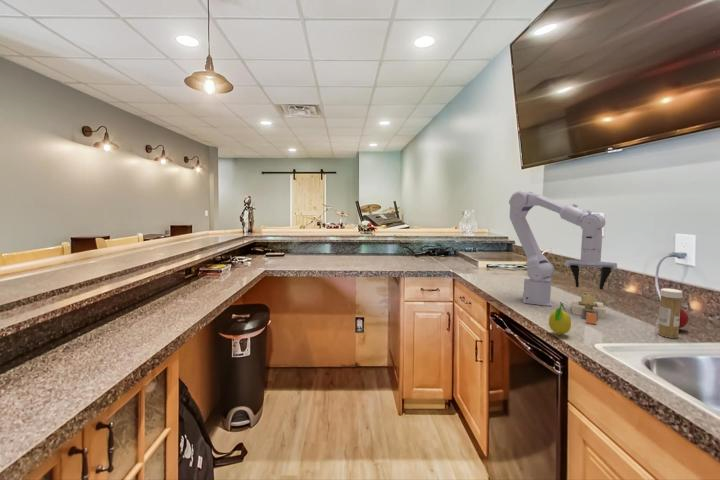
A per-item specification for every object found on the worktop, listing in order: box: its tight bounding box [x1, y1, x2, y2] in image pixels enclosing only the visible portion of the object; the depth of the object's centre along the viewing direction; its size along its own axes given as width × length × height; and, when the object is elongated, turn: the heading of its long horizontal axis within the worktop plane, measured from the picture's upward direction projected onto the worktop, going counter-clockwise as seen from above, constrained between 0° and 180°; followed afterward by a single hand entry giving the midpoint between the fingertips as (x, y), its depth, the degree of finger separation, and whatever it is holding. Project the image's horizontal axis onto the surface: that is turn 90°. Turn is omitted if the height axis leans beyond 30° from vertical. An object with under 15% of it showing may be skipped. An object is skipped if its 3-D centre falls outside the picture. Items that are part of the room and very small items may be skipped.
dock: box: [571, 299, 606, 319], centre depth 116 cm, size 9×9×3 cm
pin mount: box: [581, 309, 599, 321], centre depth 110 cm, size 4×2×3 cm, turn 60°
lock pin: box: [585, 312, 598, 325], centre depth 108 cm, size 3×7×3 cm, turn 150°
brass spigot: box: [580, 291, 597, 310], centre depth 116 cm, size 4×4×7 cm
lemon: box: [548, 301, 572, 336], centre depth 96 cm, size 7×6×10 cm
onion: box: [679, 307, 690, 329], centre depth 99 cm, size 6×6×8 cm
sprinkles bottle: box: [657, 287, 683, 339], centre depth 94 cm, size 5×5×13 cm
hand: (588, 287), depth 115 cm, fingers open, 6 cm apart
